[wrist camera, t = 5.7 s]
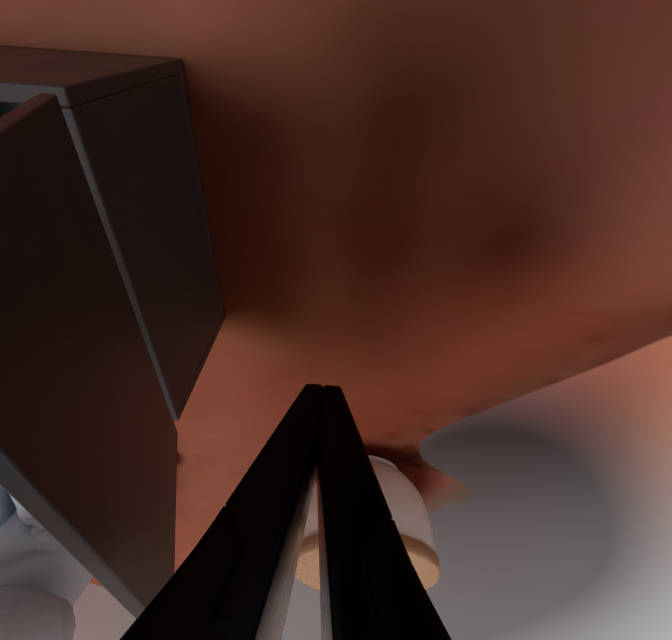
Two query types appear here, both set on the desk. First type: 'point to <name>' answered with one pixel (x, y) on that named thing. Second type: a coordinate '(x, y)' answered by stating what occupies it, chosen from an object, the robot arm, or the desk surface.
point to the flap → (78, 371)
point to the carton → (138, 191)
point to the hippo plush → (35, 578)
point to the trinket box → (404, 512)
